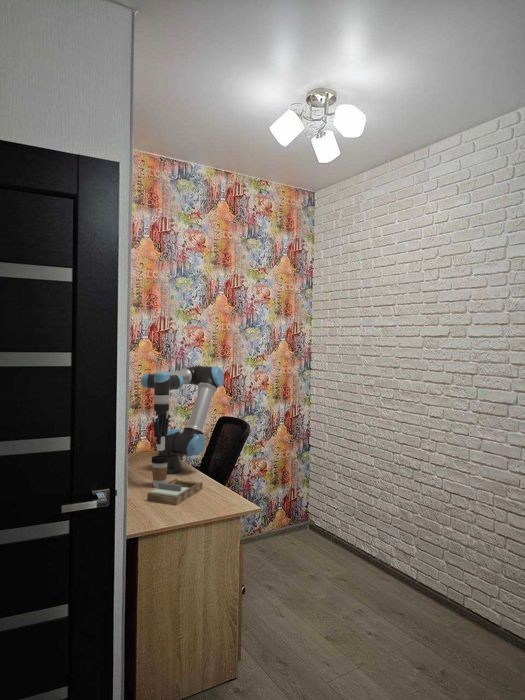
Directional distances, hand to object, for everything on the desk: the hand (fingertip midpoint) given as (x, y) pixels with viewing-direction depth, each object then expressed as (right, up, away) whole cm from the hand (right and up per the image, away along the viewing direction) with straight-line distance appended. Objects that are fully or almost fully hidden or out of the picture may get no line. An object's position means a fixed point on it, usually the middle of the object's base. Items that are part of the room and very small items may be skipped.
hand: (160, 449), depth 242 cm
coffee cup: (-1, -18, 0) cm, 18 cm away
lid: (+8, -15, -19) cm, 26 cm away
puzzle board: (+10, -19, -13) cm, 25 cm away
